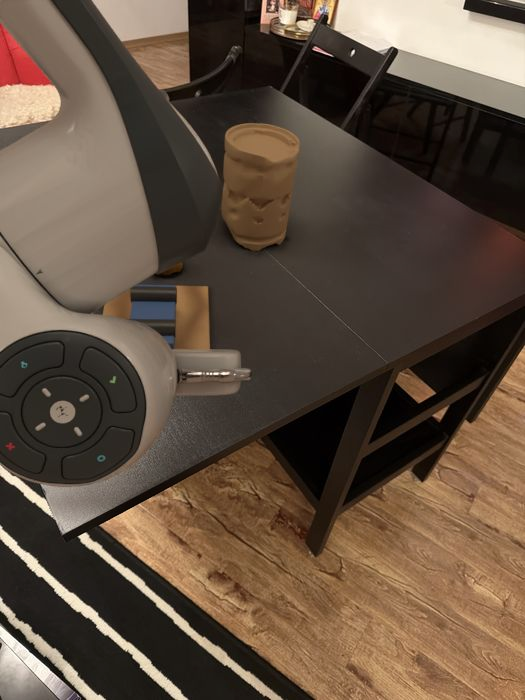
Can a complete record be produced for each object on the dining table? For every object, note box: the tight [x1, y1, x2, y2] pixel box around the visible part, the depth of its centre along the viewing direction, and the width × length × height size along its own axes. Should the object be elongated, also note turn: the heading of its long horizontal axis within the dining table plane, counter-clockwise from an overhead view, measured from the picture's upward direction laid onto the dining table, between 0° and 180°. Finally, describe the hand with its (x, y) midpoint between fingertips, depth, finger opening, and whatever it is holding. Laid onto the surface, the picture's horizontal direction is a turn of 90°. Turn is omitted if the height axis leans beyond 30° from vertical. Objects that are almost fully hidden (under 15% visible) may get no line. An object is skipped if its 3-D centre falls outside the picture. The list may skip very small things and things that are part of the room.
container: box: [221, 122, 301, 252], centre depth 86 cm, size 13×13×18 cm
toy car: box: [129, 283, 177, 349], centre depth 68 cm, size 6×6×12 cm
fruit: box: [154, 261, 184, 277], centre depth 81 cm, size 8×8×4 cm
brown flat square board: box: [102, 285, 211, 349], centre depth 73 cm, size 16×16×1 cm
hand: (137, 364), depth 50 cm, fingers closed
